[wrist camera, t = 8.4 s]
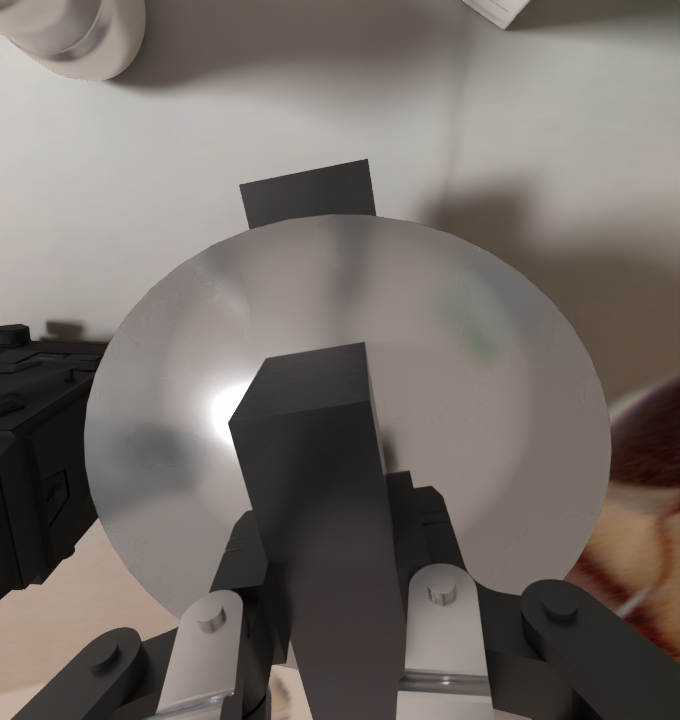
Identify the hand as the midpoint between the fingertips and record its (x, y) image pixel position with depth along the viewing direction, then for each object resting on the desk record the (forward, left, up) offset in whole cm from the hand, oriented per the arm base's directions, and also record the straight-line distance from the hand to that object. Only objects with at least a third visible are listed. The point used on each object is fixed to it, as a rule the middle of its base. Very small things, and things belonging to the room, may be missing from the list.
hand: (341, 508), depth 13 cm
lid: (0, 0, -2) cm, 2 cm away
